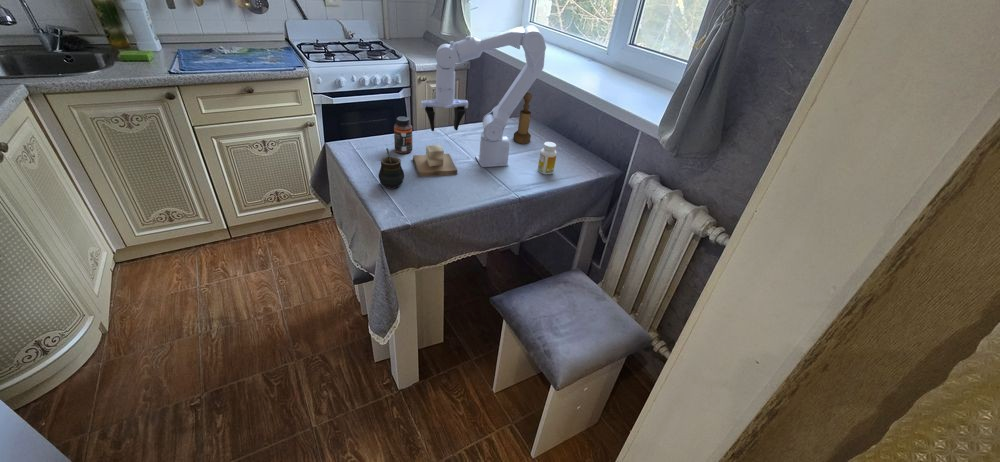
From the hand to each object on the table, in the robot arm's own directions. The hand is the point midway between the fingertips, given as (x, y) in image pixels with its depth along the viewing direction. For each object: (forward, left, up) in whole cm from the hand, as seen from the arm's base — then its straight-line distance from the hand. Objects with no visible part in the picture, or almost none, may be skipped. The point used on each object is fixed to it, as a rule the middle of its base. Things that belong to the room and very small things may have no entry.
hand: (444, 129), depth 139 cm
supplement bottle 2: (-32, +13, -11) cm, 36 cm away
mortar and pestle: (-33, -12, -11) cm, 37 cm away
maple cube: (+4, +5, -9) cm, 11 cm away
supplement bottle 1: (+12, -8, -11) cm, 18 cm away
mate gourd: (+19, +15, -11) cm, 26 cm away
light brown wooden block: (+4, +5, -11) cm, 13 cm away
